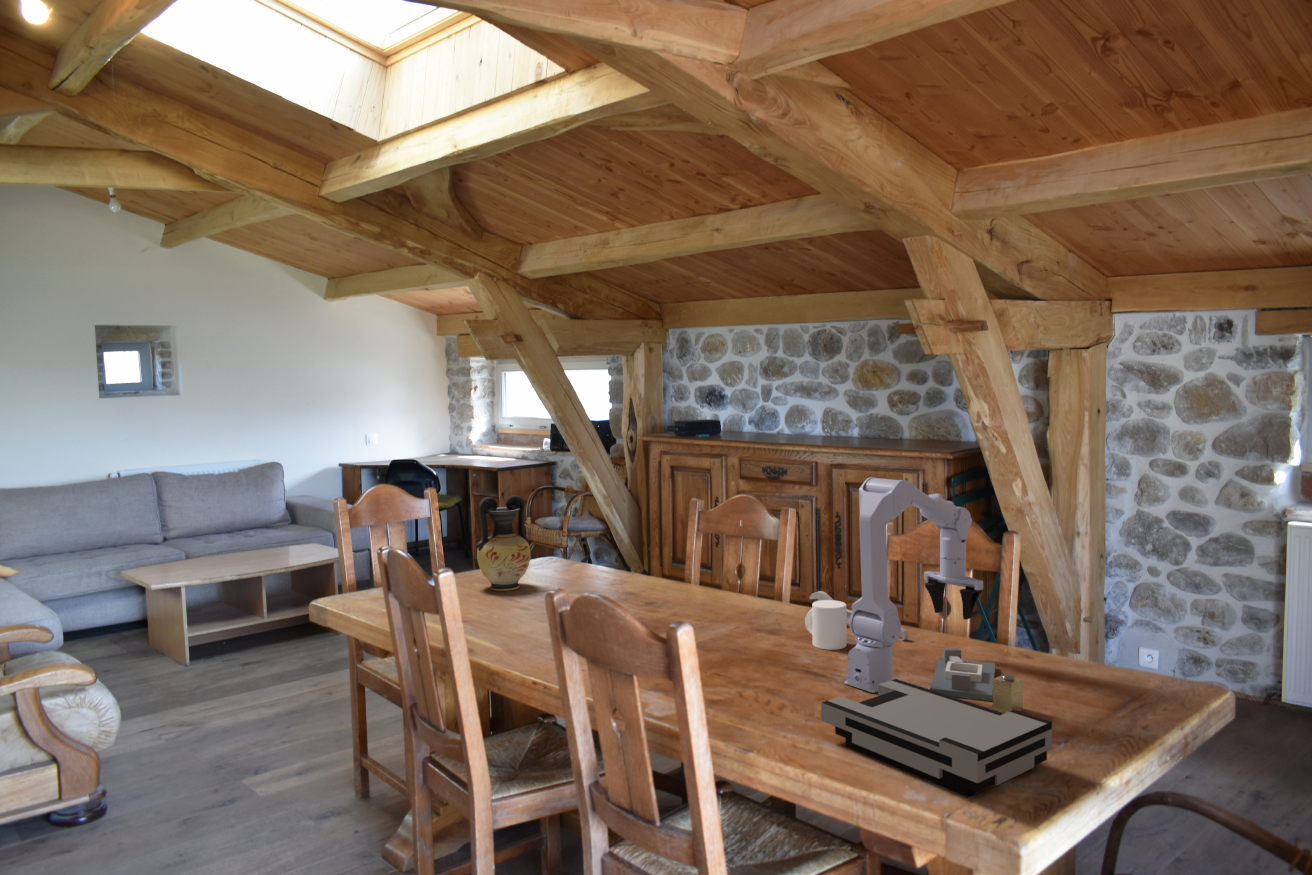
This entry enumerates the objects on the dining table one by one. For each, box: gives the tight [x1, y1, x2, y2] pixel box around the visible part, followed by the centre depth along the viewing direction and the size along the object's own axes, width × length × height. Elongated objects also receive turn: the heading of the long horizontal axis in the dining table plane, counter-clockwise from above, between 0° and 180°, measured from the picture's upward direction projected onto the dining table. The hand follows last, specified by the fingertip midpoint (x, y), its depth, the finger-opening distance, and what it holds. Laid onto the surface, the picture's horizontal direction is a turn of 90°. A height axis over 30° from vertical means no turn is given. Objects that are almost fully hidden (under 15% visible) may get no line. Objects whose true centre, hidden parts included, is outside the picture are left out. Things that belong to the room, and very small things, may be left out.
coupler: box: [992, 673, 1024, 713], centre depth 172 cm, size 4×4×7 cm
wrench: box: [809, 590, 909, 642], centre depth 230 cm, size 8×2×30 cm
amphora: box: [476, 494, 531, 592], centre depth 284 cm, size 18×17×30 cm
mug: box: [804, 599, 848, 651], centre depth 218 cm, size 8×10×12 cm
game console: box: [820, 678, 1053, 798], centre depth 152 cm, size 21×32×8 cm, turn 36°
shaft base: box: [929, 647, 996, 702], centre depth 189 cm, size 22×12×4 cm, turn 157°
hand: (952, 615), depth 204 cm, fingers open, 7 cm apart
